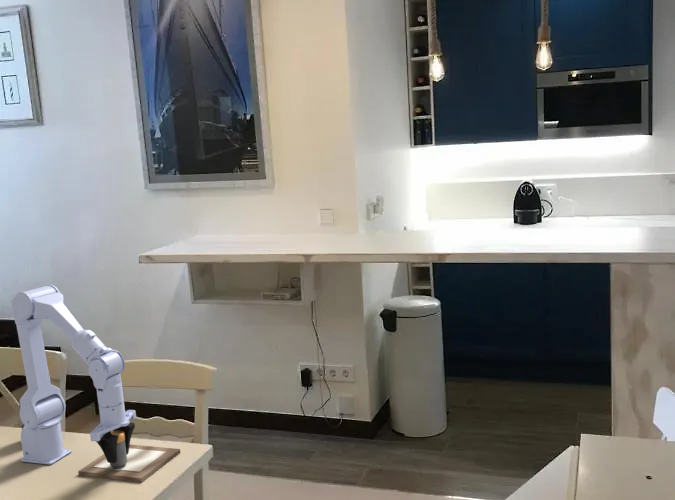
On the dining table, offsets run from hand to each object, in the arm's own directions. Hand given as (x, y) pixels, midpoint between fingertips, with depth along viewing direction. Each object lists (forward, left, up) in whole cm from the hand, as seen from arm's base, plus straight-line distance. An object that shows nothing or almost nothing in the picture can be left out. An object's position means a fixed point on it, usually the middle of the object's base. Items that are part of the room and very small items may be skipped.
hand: (118, 458), depth 171 cm
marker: (0, 0, -2) cm, 2 cm away
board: (0, +4, -3) cm, 5 cm away
